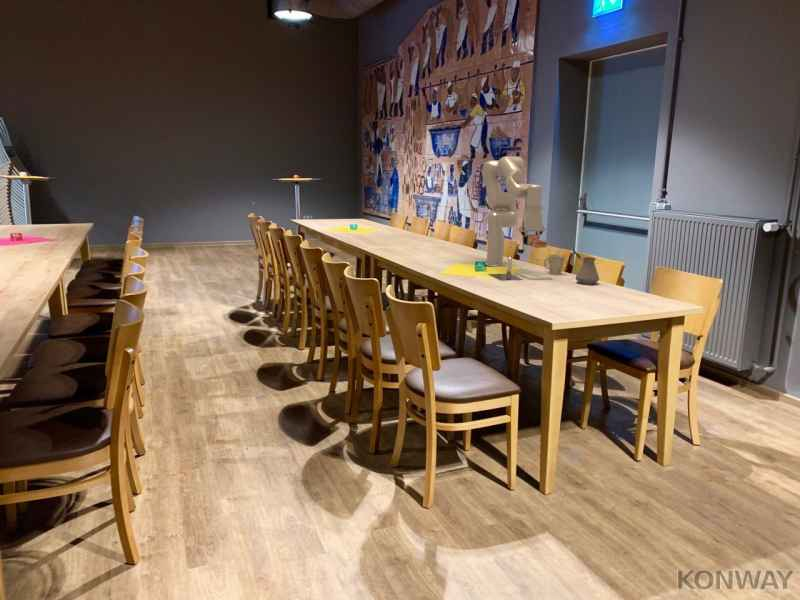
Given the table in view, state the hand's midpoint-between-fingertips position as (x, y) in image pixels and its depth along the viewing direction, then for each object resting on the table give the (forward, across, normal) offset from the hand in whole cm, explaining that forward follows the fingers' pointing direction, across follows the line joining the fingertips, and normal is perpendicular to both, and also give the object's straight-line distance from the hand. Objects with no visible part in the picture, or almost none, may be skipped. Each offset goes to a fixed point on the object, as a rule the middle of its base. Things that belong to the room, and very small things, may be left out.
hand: (530, 243), depth 325 cm
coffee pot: (+18, -22, +16) cm, 32 cm away
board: (+18, 0, +4) cm, 18 cm away
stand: (+18, +15, +4) cm, 23 cm away
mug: (+18, -18, -8) cm, 27 cm away
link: (0, 0, +5) cm, 5 cm away
